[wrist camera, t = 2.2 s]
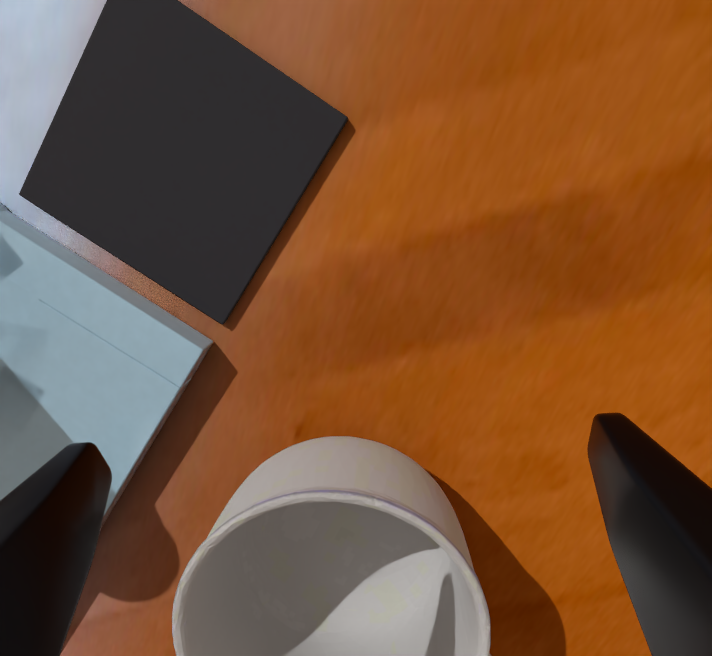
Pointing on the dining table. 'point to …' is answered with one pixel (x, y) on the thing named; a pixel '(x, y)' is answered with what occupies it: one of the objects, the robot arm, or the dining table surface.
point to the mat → (180, 151)
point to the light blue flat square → (81, 360)
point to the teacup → (333, 563)
